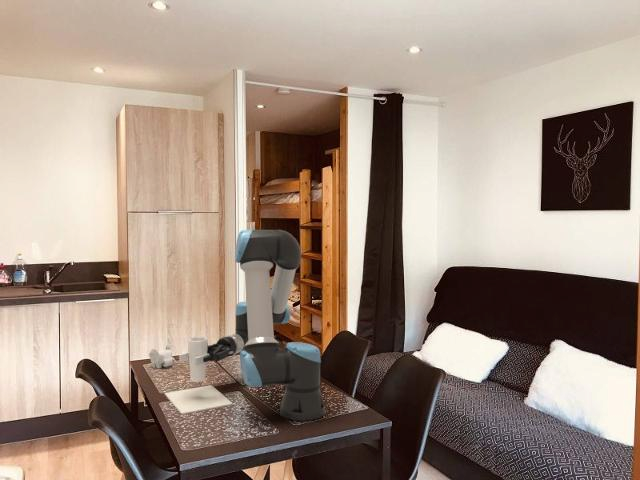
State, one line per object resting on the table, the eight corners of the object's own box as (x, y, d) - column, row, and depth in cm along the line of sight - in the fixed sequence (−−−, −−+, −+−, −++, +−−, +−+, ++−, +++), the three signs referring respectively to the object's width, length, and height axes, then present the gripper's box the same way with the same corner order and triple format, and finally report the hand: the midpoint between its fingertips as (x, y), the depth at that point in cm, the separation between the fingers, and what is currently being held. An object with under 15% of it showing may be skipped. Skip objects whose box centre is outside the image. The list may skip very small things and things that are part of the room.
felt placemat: (232, 404, 175) (232, 403, 175) (181, 414, 165) (181, 413, 165) (211, 386, 194) (211, 385, 194) (164, 394, 184) (164, 393, 184)
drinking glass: (197, 375, 184) (198, 335, 184) (211, 379, 181) (211, 338, 180) (184, 380, 178) (184, 339, 178) (197, 384, 175) (198, 342, 174)
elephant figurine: (163, 372, 211) (163, 351, 211) (144, 367, 217) (144, 347, 217) (180, 366, 219) (180, 346, 219) (161, 362, 225) (161, 342, 225)
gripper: (249, 358, 191) (209, 375, 170) (210, 351, 200) (167, 366, 180) (250, 339, 190) (209, 353, 170) (210, 333, 199) (167, 345, 179)
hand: (188, 360), depth 175 cm, fingers closed on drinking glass, 7 cm apart
